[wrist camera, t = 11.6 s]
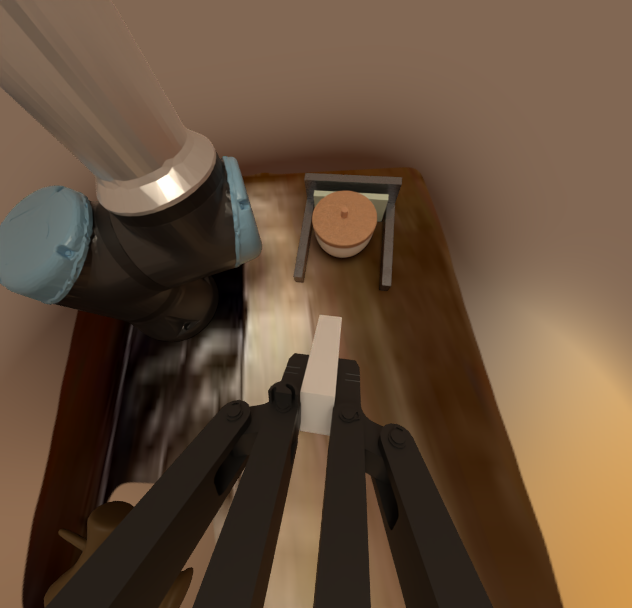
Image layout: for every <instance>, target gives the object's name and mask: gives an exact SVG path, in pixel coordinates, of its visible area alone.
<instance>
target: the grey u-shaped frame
mask: <svg viewBox="0 0 632 608" xmlns="http://www.w3.org/2000/svg"><path fill="white" fill-rule="evenodd" d="M401 185H402V178H400V177H378V176H357V175H335V174H313V173H306V174H305V186H306V193H307V202H306V208H305V214H304V220H303V225H302V231H301V237H300V243H299V248H298V254H297V260H296V265H295V271H294V279H295V281H296V282H303V283H304V277H305V271H306V264H307V258H308V252H309V246H310V239H311V233H312V227H313V225H312V214H313V211H314V208H315V205H314V190H316V191H334V192H337V191H353V192H357V193H371V194H389V196H388V202H387V206H386V209H385V212H384V220H383V237H382V253H381V269H380V285H379V290H384V291H388V290H389V288H390V287H391V274H392V253H393V231H394V210H395V201H396V198H397V196H398V193H399V190H400V187H401Z"/></svg>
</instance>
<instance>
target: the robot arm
mask: <svg viewBox="0 0 632 608" xmlns="http://www.w3.org/2000/svg"><path fill="white" fill-rule="evenodd" d="M0 87H1V88H2V89H3V90H4V91H5V92H6V93H7V94H9V96H11V97H12V98H13V99H14V100H15V101H16V102H17V103H18V104H19V105H20V106H21V107H22V108H24V109H25V110H26V111H27V112H28V113H29V114H30V115H31V116H32V117H33V118H34V119H35V120H36V121H37V122H38V123H40V124H41V125H42V126H43V127H44V128H45V129H46V130H47V131H48V132H49V133H50V134H51V135H52V136H53V137H55V138H56V139H57V140H58V141H59V142H60V143H61V144H62V145H63V146H64V147H65V148H66V149H68V150H69V151H70V152H71V153H72V154H73V155H74V156H75V157H76V158H77V159H78V160H79V161H80V162H81V163H82V164H84V165H85V166H86V167H87V168H88V169H89V170H90V171H91V172H92V173H93V174H94V175H95V179H96V195H97V199H98V201H95V202H92V201H89V200H88V198H87V197H86V196H85V195H84V194H82V193H81V192H77V191H74V190H72V189H70V188H66V187H64V186H49V187H45V188H42V189H39V190H37V191H35V192H33V193H31V194H30V195H28V196H27V197H25V198H24V199H23V200H21V201H20V202H19V203H18V204H17V205H16V206H15V207H14V208H13V209H12V210H11V211H10V212H9V214H8V215H7V216H6V218H5V219H4V221H3V222H2V223H1V225H0V284H2V285H3V286H5V287H6V288H7V289H8V290H10V291H12V292H15V293H17V294H20V295H23V296H26V297H29V298H32V299H35V300H38V301H41V302H43V303H46V304H50V305H51V304H56V305H60V306H64V307H69V308H73V309H77V310H81V311H85V312H90V313H94V314H98V315H102V316H106V317H111V318H115V319H119V320H123V321H128V322H129V323H131V324H132V325H133V326H135V327H136V328H137V329H139V330H140V331H142V332H143V333H144V334H146V335H147V336H149V337H151V338H154V339H157V340H163V341H168V342H177V341H182V340H186V339H188V338H191V337H193V336H195V335H196V334H198V333H199V332H200V331H202V330H203V329H204V328H205V327H206V326H207V325H208V323H209V322H210V321H211V319H212V318H213V316H214V314H215V312H216V309H217V305H218V299H219V294H218V288H217V285H216V282H215V281H214V279H213V277H212V276H211V275H214V274H217V273H220V272H223V271H226V270H229V269H232V268H236V267H239V266H240V265H241V264H243V263H246V262H248V261H250V260H253V259H255V258H256V257H258V256H259V254H260V253H261V250H262V243H261V239H260V235H259V232H258V228H257V225H256V222H255V218H254V215H253V211H252V208H251V205H250V202H249V198H248V195H247V191H246V188H245V185H244V181H243V178H242V175H241V172H240V169H239V165H238V162H237V160H236V159H235V158H234V157H227V156H223V157H222V158H221V159H220V158H219V156H218V154H217V152H216V150H215V148H214V146H213V145H212V143H211V142H210V140H209V139H208V138H206V137H205V136H203V135H201V134H199V133H197V132H194V131H192V130H189V129H187V128H186V127H185V126H184V125H183V124H182V122H181V120H180V118H179V117H178V115H177V113H176V112H175V110H174V108H173V106H172V104H171V103H170V101H169V99H168V98H167V96H166V94H165V92H164V91H163V89H162V87H161V85H160V84H159V82H158V80H157V78H156V77H155V75H154V73H153V71H152V70H151V68H150V66H149V65H148V63H147V61H146V59H145V57H144V56H143V54H142V52H141V51H140V49H139V47H138V45H137V44H136V42H135V40H134V38H133V37H132V35H131V33H130V31H129V30H128V28H127V26H126V24H125V23H124V21H123V19H122V17H121V16H120V14H119V12H118V10H117V9H116V7H115V5H114V3H113V2H112V0H0ZM341 320H342V317H335V316H326V315H320V316H319V320H318V324H317V328H316V332H315V336H314V340H313V344H312V348H311V352H310V355H304V354H297V353H295V354H294V355H293V356H291V357H290V358H289V361H288V363H287V367H286V369H285V372H284V374H283V377H282V380H281V381H280V382H277V383H275V384H274V385H272V386H271V387H270V389H269V390H268V393H269V402H268V403H266V404H262V405H257V406H250V407H249V405H248V404H247V403H246V402H245V401H240V400H237V401H232V402H230V403H227V404H226V405H225V406H224V407H222V408H221V410H220V411H219V412H218V413H217V414H216V415H215V416H214V418H213V419H212V420H211V421H210V422H209V423H208V424H207V425H206V427H205V428H204V429H203V430H202V431H201V432H200V433H199V434H198V436H197V437H196V438H195V439H194V440H193V441H192V442H191V443H190V445H189V446H188V447H187V448H186V449H185V450H184V451H183V453H182V454H181V455H180V456H179V457H178V458H177V459H176V460H175V462H174V463H173V464H172V465H171V466H170V467H169V468H168V469H167V471H166V472H165V473H164V474H163V475H162V476H161V477H160V478H159V480H158V481H157V482H156V483H155V484H154V485H153V486H152V488H151V489H150V490H149V491H148V492H147V493H146V494H145V495H144V497H143V498H142V499H141V500H140V501H139V502H138V503H137V504H136V506H135V507H134V508H133V509H132V510H131V511H130V512H129V513H128V515H127V516H126V517H125V518H124V519H123V520H122V521H121V523H120V524H119V525H118V526H117V527H116V528H115V529H114V530H113V532H112V533H111V534H110V535H109V536H108V537H107V538H106V539H105V541H104V542H103V543H102V544H101V545H100V546H99V547H98V548H97V550H96V551H95V552H94V553H93V554H92V555H91V556H90V558H89V559H88V560H87V561H86V562H85V563H84V564H83V565H82V567H81V568H80V569H79V570H78V571H77V572H76V573H75V574H74V576H73V577H72V578H71V579H70V580H69V581H68V582H67V583H66V585H65V586H64V587H63V588H62V589H61V590H60V591H59V593H58V594H57V595H56V596H55V597H54V598H53V599H52V600H51V602H50V603H49V604H48V605H47V606H46V607H45V608H158V607H159V606H160V604H161V603H162V601H163V599H164V598H165V596H166V594H167V593H168V591H169V590H170V588H171V586H172V585H173V583H174V581H175V580H176V578H177V577H178V575H179V573H180V572H181V570H182V568H183V567H184V565H185V563H186V562H187V560H188V559H189V557H190V555H191V554H192V552H193V551H194V549H195V547H196V546H197V544H198V542H199V541H200V539H201V538H202V536H203V534H204V533H205V531H206V530H207V528H208V526H209V525H210V523H211V521H212V520H213V518H214V517H215V515H216V513H217V512H218V510H219V508H220V507H221V505H222V504H223V502H224V500H225V499H226V497H227V496H228V494H229V492H230V491H231V489H232V487H233V486H234V484H235V483H236V481H237V479H238V478H239V476H240V474H241V473H242V471H243V470H244V472H243V475H242V477H241V480H240V483H239V485H238V488H237V491H236V493H235V496H234V499H233V501H232V504H231V507H230V509H229V512H228V515H227V517H226V520H225V522H224V525H223V528H222V530H221V533H220V536H219V538H218V541H217V544H216V546H215V549H214V552H213V554H212V557H211V560H210V563H209V565H208V568H207V570H206V573H205V576H204V578H203V581H202V584H201V586H200V589H199V592H198V594H197V597H196V600H195V602H194V605H193V608H263V606H264V602H265V597H266V592H267V587H268V583H269V578H270V573H271V568H272V564H273V559H274V554H275V549H276V544H277V540H278V535H279V530H280V525H281V521H282V516H283V511H284V506H285V501H286V497H287V492H288V487H289V482H290V478H291V473H292V468H293V463H294V459H295V454H296V449H297V444H298V433H299V429H300V431H304V432H310V433H316V434H322V435H328V436H330V438H329V447H328V456H327V468H326V478H325V489H324V499H323V510H322V520H321V531H320V541H319V552H318V562H317V573H316V583H315V594H314V604H313V608H371V602H370V577H369V552H368V527H367V503H366V478H365V472H366V473H367V474H369V475H371V479H372V482H373V486H374V490H375V493H376V497H377V501H378V505H379V508H380V512H381V516H382V519H383V523H384V527H385V531H386V534H387V538H388V542H389V546H390V549H391V553H392V557H393V560H394V564H395V568H396V572H397V575H398V579H399V583H400V586H401V590H402V594H403V598H404V601H405V605H406V608H493V606H492V604H491V602H490V600H489V598H488V596H487V594H486V591H485V589H484V587H483V585H482V583H481V581H480V579H479V577H478V575H477V572H476V570H475V568H474V566H473V564H472V562H471V560H470V558H469V555H468V553H467V551H466V549H465V547H464V545H463V543H462V541H461V539H460V536H459V534H458V532H457V530H456V528H455V526H454V524H453V522H452V519H451V517H450V515H449V513H448V511H447V509H446V507H445V505H444V503H443V500H442V498H441V496H440V494H439V492H438V490H437V488H436V486H435V483H434V481H433V479H432V477H431V475H430V473H429V471H428V469H427V467H426V464H425V462H424V460H423V458H422V456H421V454H420V452H419V450H418V447H417V445H416V443H415V441H414V439H413V437H412V436H411V434H410V433H409V431H407V430H406V429H405V428H404V427H402V426H400V425H398V424H387V425H385V426H384V427H383V426H381V425H379V424H376V423H374V422H373V421H371V420H369V419H368V418H367V417H366V416H365V414H364V413H363V411H362V409H361V400H360V372H359V366H358V364H357V362H356V361H355V360H347V359H339V358H338V356H339V344H340V332H341ZM245 466H246V467H245ZM244 468H245V469H244Z"/></svg>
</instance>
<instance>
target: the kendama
mask: <svg viewBox="0 0 632 608" xmlns="http://www.w3.org/2000/svg"><path fill="white" fill-rule="evenodd" d="M133 508H134V507H133V506H132V505H131V504H129V503H126V502H123V501H113V502H108V503H105V504H103V505H101V506H99V507H97V508H96V509H95V510H94V511H93V512H92V513H91V514H90V516H89V518H88V521H87V539H86V538H84V537H82V536H80V535H78V534H76V533H74V532H72V531H69V530H66V529H60V530H59V535H60V536H61V537H63V538H64V539H65V540H67V541H68V542H70V543H71V544H73V545H74V546H76V547H77V548H79V549H81V550H82V551H83V552H82V554H81V556H80V558H79V560H78V561H77V563H76V564H75V565H74V566H73V567H72V568H71V569H69V570H68V571H67V572H66V573H64V574H63V575H62V576H61V577H60V578H59V579H58V580H57V581H56V582H55V583H53V584H52V585H51V587H50V588H49V590H48V592H47V593H46V595H45V597H44V606H45V607H46V606H47V605H48V604H49V603H50V602H51V600H52V599H53V598H54V597H55V596H56V595H57V594H58V593H59V591H60V590H61V589H62V588H63V587H64V586H65V585H66V583H67V582H68V581H69V580H70V579H71V578H72V577H73V576H74V574H75V573H76V572H77V571H78V570H79V569H80V568H81V567H82V565H83V564H84V563H85V562H86V561H87V560H88V559H89V558H90V556H91V555H92V554H93V553H94V552H95V551H96V550H97V548H98V547H99V546H100V545H101V544H102V543H103V542H104V541H105V539H106V538H107V537H108V536H109V535H110V534H111V533H112V532H113V530H114V529H115V528H116V527H117V526H118V525H119V524H120V523H121V521H122V520H123V519H124V518H125V517H126V516H127V515H128V513H129V512H130V511H131V510H132V509H133ZM192 575H193V568H192V567H191V568H187V569H186V570H184V571H181V572H180V573H179V575H178V577H177V578H176V580H175V581H174V583H173V585H172V586H171V588H170V590H169V591H168V593H167V594H166V596H165V598H164V599H163V601H162V603H161V604H160V606H159V607H158V608H179V607H180V605H181V603H182V601H183V599H184V597H185V595H186V592H187V590H188V588H189V585H190V583H191V580H192Z"/></svg>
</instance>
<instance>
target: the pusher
mask: <svg viewBox="0 0 632 608" xmlns="http://www.w3.org/2000/svg"><path fill="white" fill-rule="evenodd" d="M333 192H334V191H316V190H314V205H315V206H316V205H317V204H318V202H319V201H320V200H321V199H322V198H324V197H325V196H327V195H329V194H331V193H333ZM360 194H362V195H364V196H365V197H367V198H368V199H369V200H370V201H371V202H372V203H373V205H374V207H375V209H376V212H377V221H378V222H381V221H382V218H383V215H384V212H385V209H386V206H387V202H388V196H389V194H371V193H360Z"/></svg>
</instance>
